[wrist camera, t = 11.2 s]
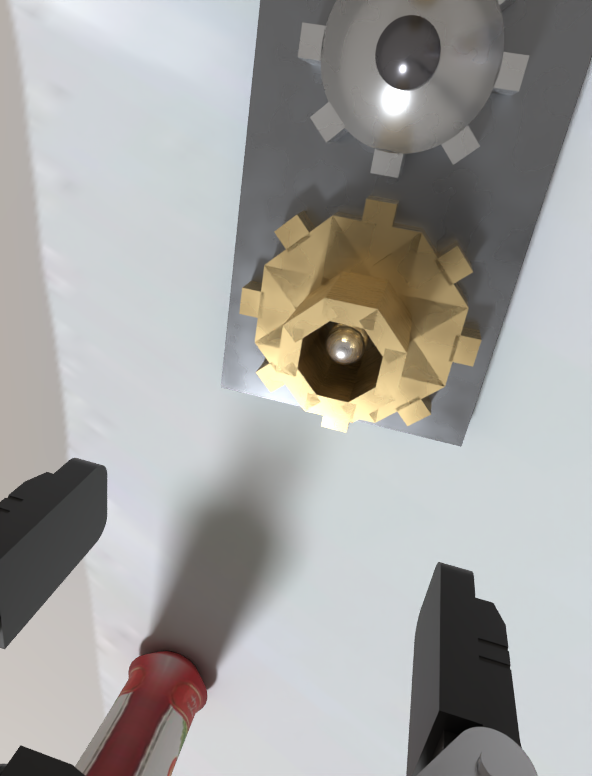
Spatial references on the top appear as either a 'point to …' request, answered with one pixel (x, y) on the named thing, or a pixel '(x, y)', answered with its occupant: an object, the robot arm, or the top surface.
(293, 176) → the carrier plate
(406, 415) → the gear
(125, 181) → the top surface
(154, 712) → the liquor
